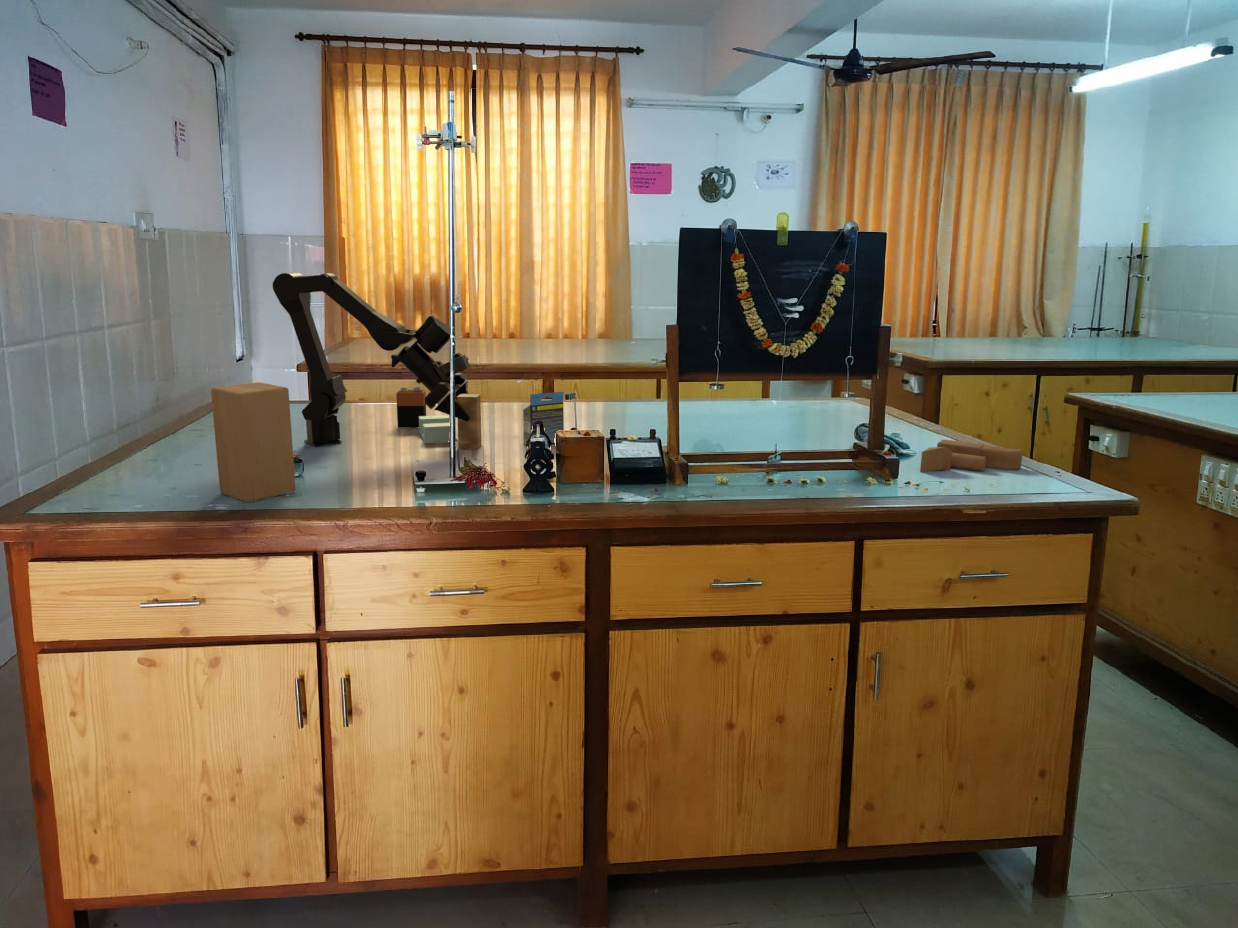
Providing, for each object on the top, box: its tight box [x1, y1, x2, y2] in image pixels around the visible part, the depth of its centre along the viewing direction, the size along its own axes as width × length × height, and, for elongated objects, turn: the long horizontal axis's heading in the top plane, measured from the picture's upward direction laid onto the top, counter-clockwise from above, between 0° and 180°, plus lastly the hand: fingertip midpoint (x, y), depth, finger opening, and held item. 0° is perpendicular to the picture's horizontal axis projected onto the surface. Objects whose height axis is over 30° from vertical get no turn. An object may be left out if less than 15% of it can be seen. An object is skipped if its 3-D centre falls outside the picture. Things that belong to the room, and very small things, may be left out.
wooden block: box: [210, 381, 296, 503], centre depth 175 cm, size 10×10×20 cm
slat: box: [457, 393, 483, 450], centre depth 217 cm, size 4×4×12 cm
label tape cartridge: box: [522, 391, 565, 445], centre depth 221 cm, size 9×4×12 cm, turn 123°
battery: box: [395, 386, 427, 428], centre depth 240 cm, size 4×7×10 cm, turn 94°
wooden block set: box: [919, 439, 1024, 473], centre depth 202 cm, size 17×6×18 cm
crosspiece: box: [418, 414, 451, 445], centre depth 228 cm, size 14×7×4 cm, turn 17°
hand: (473, 416), depth 217 cm, fingers open, 9 cm apart
